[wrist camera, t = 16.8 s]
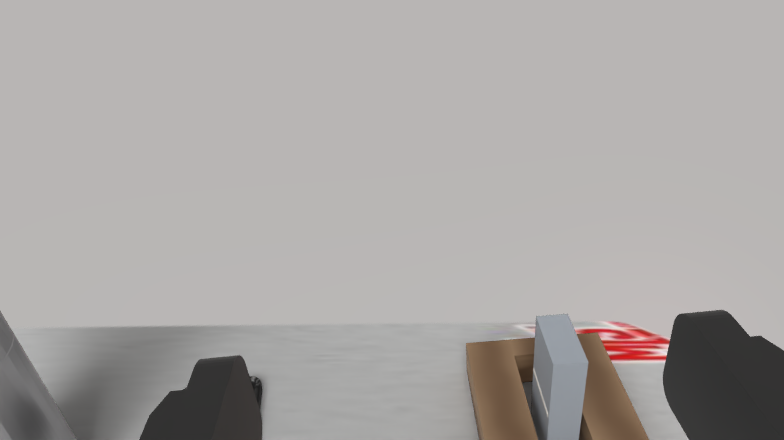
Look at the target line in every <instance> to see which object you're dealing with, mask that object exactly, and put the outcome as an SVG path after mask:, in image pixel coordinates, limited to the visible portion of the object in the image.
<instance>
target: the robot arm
mask: <svg viewBox="0 0 784 440" xmlns="http://www.w3.org/2000/svg"><path fill="white" fill-rule="evenodd" d="M663 385H664V391H665V395H666V398H667V401H668V403H669V406H670V408H671V410H672V411H673V413H674V415H675V416H676V418H677V420H678V421H679V423H680V425H681V427H682V428H683V430H684V432H685V433H686V435H687V437H688V438H689V440H784V351H783V350H782V349H780V348H779V347H777V346H776V345H774V344H773V343H771V342H769V341H768V340H766V339H765V338H763V337H762V336H754V337H750V336H749V335H748V334H747V333H746V332H745V331H744V329H743V328H742V327H741V326H740V325H739V323H738V322H737V321H736V320H735V319H734V318H733V317H732V315H731V314H729V313H728V312H726V311H724V310H716V311H706V312H695V313H685V314H679V315H678V316H677V317H676V319H675V321H674V325H673V330H672V334H671V339H670V343H669V348H668V353H667V358H666V362H665V367H664V372H663ZM0 440H77V439H76V437H75V436H74V434H73V432H72V431H71V429H70V427H69V425H68V424H67V422H66V420H65V418H64V417H63V415H62V413H61V412H60V410H59V408H58V407H57V405H56V403H55V402H54V400H53V398H52V396H51V395H50V393H49V391H48V390H47V388H46V386H45V385H44V383H43V381H42V380H41V378H40V376H39V375H38V373H37V371H36V370H35V368H34V366H33V365H32V363H31V361H30V360H29V358H28V356H27V355H26V353H25V351H24V350H23V348H22V346H21V345H20V343H19V341H18V340H17V338H16V336H15V335H14V333H13V331H12V330H11V328H10V327H9V325H8V323H7V321H6V320H5V318H4V317H3V315H2V313H1V311H0ZM139 440H262V419H261V413H260V409H259V406H258V402H257V399H256V396H255V393H254V390H253V386H252V383H251V380H250V377H249V374H248V370H247V367H246V364H245V361H244V359H243V358H242V356H229V357H219V358H208V359H200V360H199V361H198V362H197V363H196V365H195V367H194V370H193V372H192V375H191V378H190V380H189V383H188V386H187V389H186V390H179V391H170V392H169V394H168V395H167V396H166V397H165V398H164V399H163V401H162V402H161V403H160V404H159V405H158V406H157V407H156V409H155V410H154V411H153V412H152V413H151V414H150V416H149V418H148V420H147V423H146V425H145V427H144V430H143V432H142V435H141V437H140V439H139Z"/></svg>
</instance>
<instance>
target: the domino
mask: <svg viewBox="0 0 784 440" xmlns="http://www.w3.org/2000/svg"><path fill="white" fill-rule="evenodd" d="M587 369H588V360H587V358H586V355H585V353H584V351H583V348H582V346H581V344H580V341H579V339H578V337H577V334H576V332H575V330H574V327H573V325H572V323H571V320H570V318H569V316H568V314H561V315H548V316H537V317H536V329H535V347H534V365H533V383H532V401H531V415H532V419H533V422H534V426H535V429H536V433H537V436H538V440H579V433H580V425H581V417H582V409H583V401H584V393H585V385H586V377H587Z"/></svg>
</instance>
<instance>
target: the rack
mask: <svg viewBox="0 0 784 440" xmlns="http://www.w3.org/2000/svg"><path fill="white" fill-rule="evenodd" d="M577 337H578V339H579V341H580V344H581V346H582V348H583V351H584V353H585V355H586V358H587V360H588V369H587V377H586V385H585V393H584V401H583V409H582V417H581V425H580V433H579V440H649V439H648V437H647V435H646V433H645V430H644V428H643V426H642V424H641V422H640V420H639V418H638V416H637V414H636V412H635V410H634V408H633V406H632V403H631V401H630V399H629V397H628V395H627V393H626V391H625V389H624V387H623V385H622V383H621V381H620V379H619V377H618V374H617V372H616V370H615V368H614V366H613V364H612V362H611V360H610V358H609V356H608V354H607V352H606V350H605V348H604V345H603V343H602V341H601V339H600V337H599V335H598V333H587V334H577ZM534 347H535V338H525V339H513V340H501V341H488V342H476V343H466V355H467V373H468V379H469V384H470V390H471V396H472V401H473V407H474V412H475V418H476V424H477V429H478V435H479V440H538V438H537V435H536V431H535V427H534V424H533V420H532V417H531V413H530V410H529V406H528V403H527V399H526V396H525V392H524V389H523V385H522V382H533V365H534Z"/></svg>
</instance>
